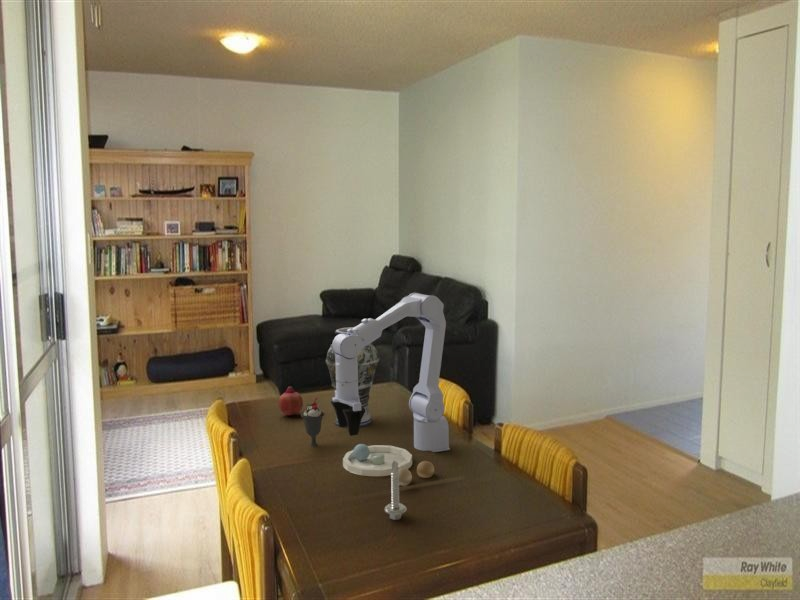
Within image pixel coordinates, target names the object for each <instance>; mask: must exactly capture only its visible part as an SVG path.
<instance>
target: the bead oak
mask: <svg viewBox="0 0 800 600" xmlns="http://www.w3.org/2000/svg"><path fill="white" fill-rule="evenodd" d="M416 473H417V475H418V477H420V478H422V479H428V478H432V477H433V475H434V474H435V466H434V465H433V463H432V462H430V461H428V460H423V461H421V462H419V463H418V465H417V467H416Z"/></svg>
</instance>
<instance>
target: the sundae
mask: <svg viewBox="0 0 800 600" xmlns="http://www.w3.org/2000/svg"><path fill="white" fill-rule="evenodd" d="M316 401H318V397H316V398H315V399H314V401H313V402H312V403H310V404H309V403H307V405H306V409H305V411H303V412H301V413H300V416H301V418H303V421H304V427H305V432H306V434H307V435H308V436H310V438H311V443H310V445H309V447H313V448H315V447H318V446H319V444H318V443H317V439H316V437H317V436H318V435H319V434H320V432H321V430H322V419H323V417H324V416H325V415H326V413H325V412H323V411H322V410H321V409H320V407H319V405H317V404H318V403H317V402H316Z"/></svg>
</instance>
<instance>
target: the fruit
mask: <svg viewBox="0 0 800 600" xmlns="http://www.w3.org/2000/svg"><path fill="white" fill-rule="evenodd" d="M303 401H304V400H303V397H302V395H301V394H300V393H299V392H298V391H297V392H296V391H295V389H294V388H293V387H292V386H291V385H290V386H288V387H287V389H286V391H285V392H283V393H282V394H281V395H280V396H279V398H278V402H277V403H278V404H277V405H278V408H279V410H280V412H281V413H283V415H286V416H290V415H291V416H294V415H296V414H299V413H300V411H302V408H303V407H304V403H303ZM291 416H290V417H291Z"/></svg>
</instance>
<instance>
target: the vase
mask: <svg viewBox="0 0 800 600" xmlns="http://www.w3.org/2000/svg"><path fill="white" fill-rule="evenodd" d="M354 327H355V326H353V327H349V326H348V327H342V328H341V327H340V328H338V329H336V330H335V331H334V334H335V335H336V336H337V335H338V334H341V333H342V334H343V333H344V334H346V333H347V330H348V329H353V328H354ZM357 362H358V395H359V399H360V403H361V408H364V409H365V413H364V415H363V417H362V419H361V423H360V427H359V428H362V427H363V428H364V427H366V426H369V425H371V424H372V422H373V420H372V417H371V413H370V409H369V400H370V392H371V387H372V385H373V384H374V377H375V373H376V370H377V367H378V364H379V362H380V357H379V354H378V350H377V348H375V346H374V345H373V344H372V342H371V343H370V344H368V345H367V346H365V347H364V348H362V349H361V352H360V354H359V355H358V356H357ZM325 364H326V366H327V369H328V372H329V376H330V379H331V387H333V389H334V391H335V390H336V365H335V354H334V352H333V351H332V349H331V346H330V347H329V349H328V350H327V353H326V358H325ZM334 425H335V426H337V427H339V428H341V427H340V426H339V423H338V419H337V415H336V414H335V419H334ZM343 428H346V429H348V426H346V427H343Z"/></svg>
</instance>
